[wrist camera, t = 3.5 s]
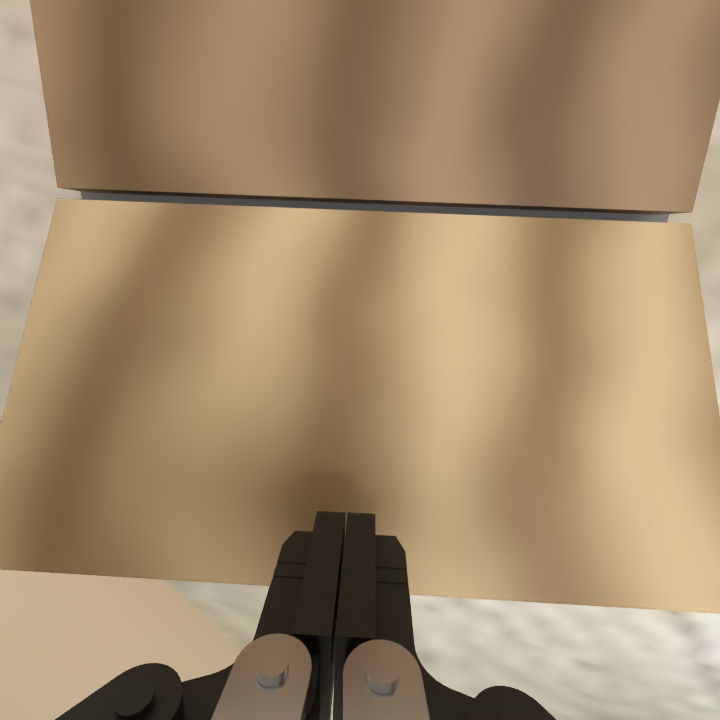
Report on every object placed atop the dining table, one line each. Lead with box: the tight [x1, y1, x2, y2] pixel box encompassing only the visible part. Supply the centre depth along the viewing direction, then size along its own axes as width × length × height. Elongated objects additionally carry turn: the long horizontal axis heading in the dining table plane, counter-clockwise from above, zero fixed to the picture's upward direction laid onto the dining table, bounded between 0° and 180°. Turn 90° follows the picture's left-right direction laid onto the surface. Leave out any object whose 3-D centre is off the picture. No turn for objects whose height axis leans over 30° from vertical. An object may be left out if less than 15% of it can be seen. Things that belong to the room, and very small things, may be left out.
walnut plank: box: [30, 0, 720, 215], centre depth 14 cm, size 22×12×2 cm, turn 88°
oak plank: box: [0, 199, 720, 614], centre depth 14 cm, size 22×12×2 cm, turn 88°
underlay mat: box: [81, 191, 669, 223], centre depth 17 cm, size 23×26×1 cm
